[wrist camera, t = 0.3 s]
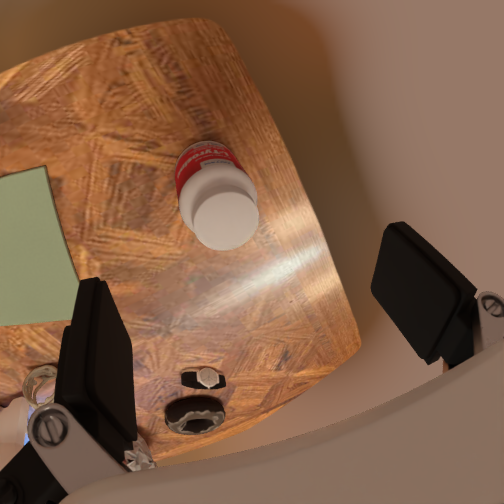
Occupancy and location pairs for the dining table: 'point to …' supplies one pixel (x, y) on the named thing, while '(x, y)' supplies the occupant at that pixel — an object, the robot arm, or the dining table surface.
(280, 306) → the dining table surface
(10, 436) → the white spiky figurine
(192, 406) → the donut
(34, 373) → the bracelet
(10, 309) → the mat
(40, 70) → the dining table surface
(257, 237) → the dining table surface
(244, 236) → the pill bottle
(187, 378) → the watch
